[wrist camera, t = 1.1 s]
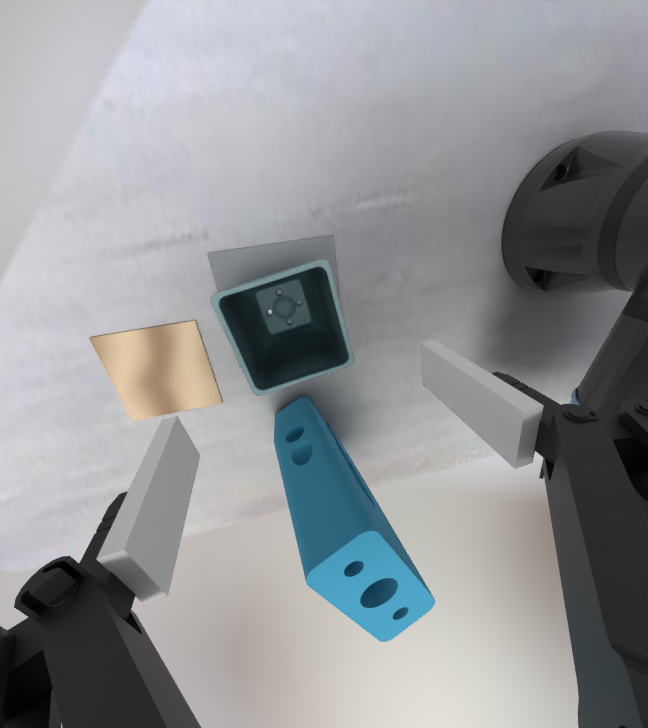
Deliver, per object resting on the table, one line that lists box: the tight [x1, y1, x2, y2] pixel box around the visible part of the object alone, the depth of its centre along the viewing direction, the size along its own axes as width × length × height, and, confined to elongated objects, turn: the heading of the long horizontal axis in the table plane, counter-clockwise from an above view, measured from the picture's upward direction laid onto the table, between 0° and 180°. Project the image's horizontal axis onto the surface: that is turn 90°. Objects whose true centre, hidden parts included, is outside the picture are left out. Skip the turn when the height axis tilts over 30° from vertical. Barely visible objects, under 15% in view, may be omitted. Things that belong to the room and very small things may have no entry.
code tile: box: [207, 235, 340, 367], centre depth 30 cm, size 12×12×1 cm
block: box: [274, 397, 435, 642], centre depth 28 cm, size 12×5×20 cm, turn 30°
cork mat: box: [89, 320, 223, 421], centre depth 30 cm, size 10×10×1 cm
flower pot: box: [211, 259, 354, 396], centre depth 26 cm, size 9×9×9 cm
